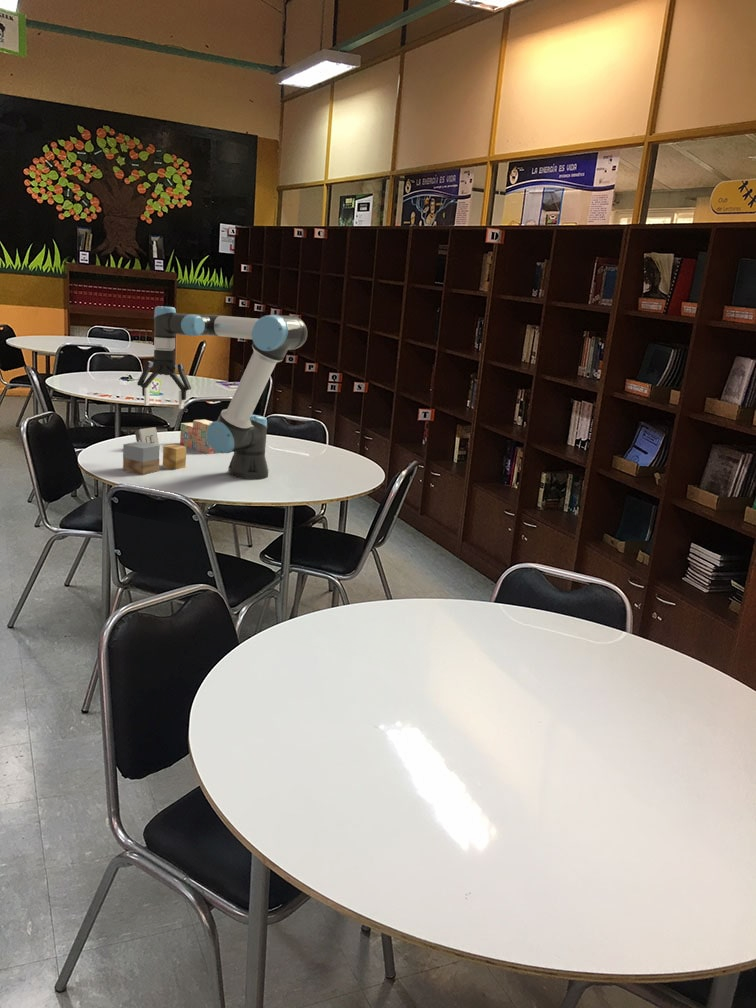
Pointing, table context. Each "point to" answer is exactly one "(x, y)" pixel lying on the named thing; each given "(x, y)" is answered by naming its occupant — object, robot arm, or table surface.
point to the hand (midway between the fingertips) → (163, 407)
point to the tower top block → (141, 451)
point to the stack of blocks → (196, 436)
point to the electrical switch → (147, 435)
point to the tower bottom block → (140, 466)
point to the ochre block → (174, 457)
